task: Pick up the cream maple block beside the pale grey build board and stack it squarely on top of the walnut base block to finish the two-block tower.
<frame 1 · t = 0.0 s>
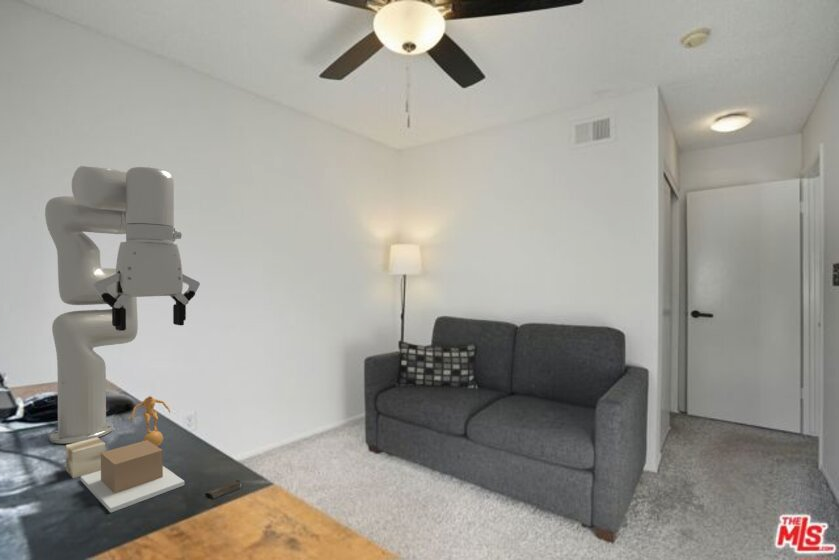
hand: (150, 327, 78), 31 cm above the table, tool pointing down, fingers open, 9 cm apart
block: (225, 494, 79), on the table
build board: (132, 482, 82), on the table
figurine: (151, 447, 99), on the table
maple block: (85, 469, 87), on the table
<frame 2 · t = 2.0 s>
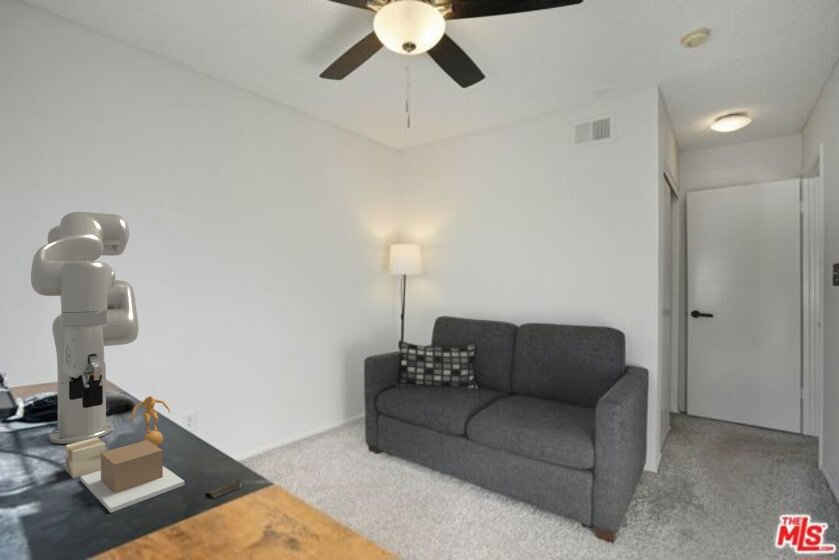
hand: (85, 402, 87), 14 cm above the table, tool pointing down, fingers open, 9 cm apart
nothing on the table moved.
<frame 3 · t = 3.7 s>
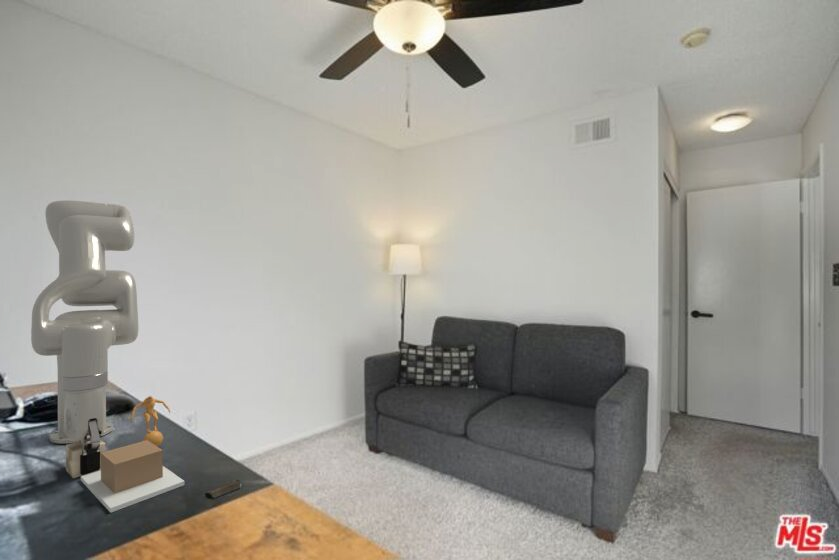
hand: (85, 466, 87), 1 cm above the table, tool pointing down, fingers closed on maple block, 5 cm apart
maple block: (85, 469, 87), on the table, touching gripper
everything else where it was.
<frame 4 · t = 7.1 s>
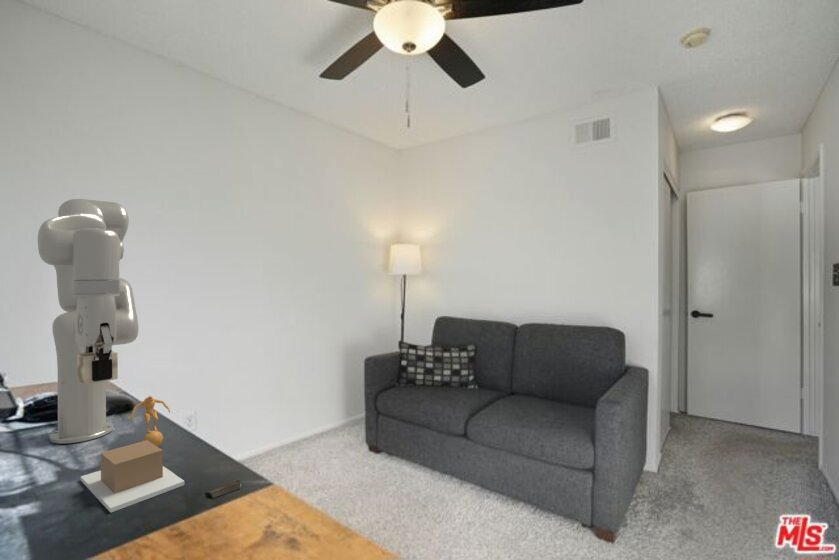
hand: (97, 376, 85), 20 cm above the table, tool pointing down, fingers closed on maple block, 5 cm apart
maple block: (97, 379, 85), point 19 cm above the table, touching gripper
everything else where it was.
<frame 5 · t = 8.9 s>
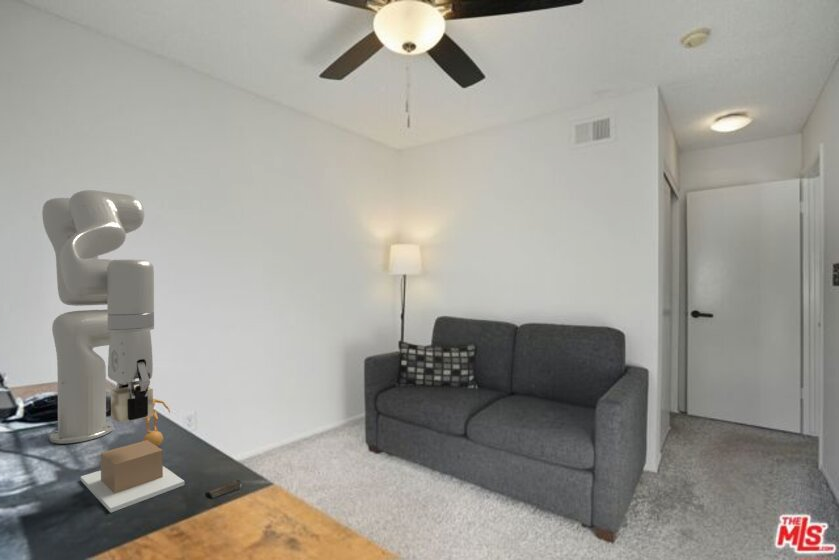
hand: (132, 414, 81), 14 cm above the table, tool pointing down, fingers closed on maple block, 5 cm apart
maple block: (132, 416, 81), point 13 cm above the table, touching gripper
everything else where it was.
when the fingers open (8 cm above the table, at t = 10.3 s): maple block drops 1 cm, resting on build board.
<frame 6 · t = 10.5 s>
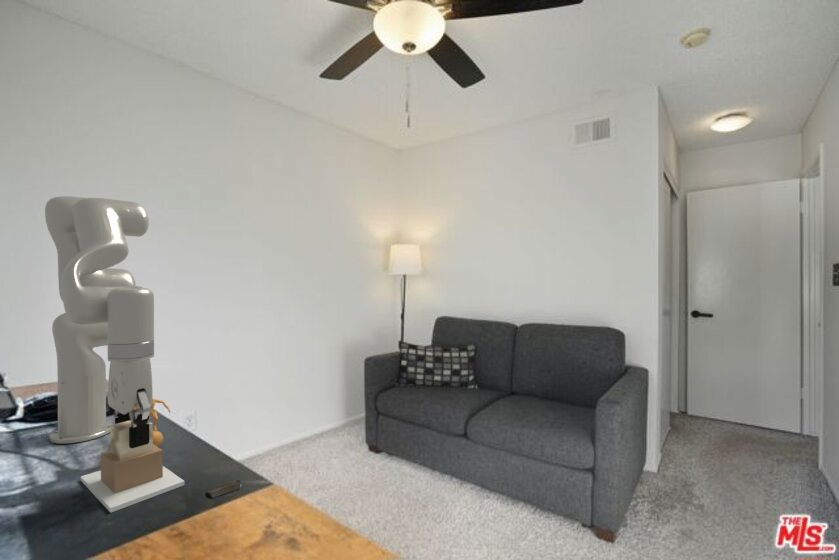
hand: (131, 439, 82), 8 cm above the table, tool pointing down, fingers open, 7 cm apart
maple block: (131, 451, 82), point 6 cm above the table, touching build board
everything else where it was.
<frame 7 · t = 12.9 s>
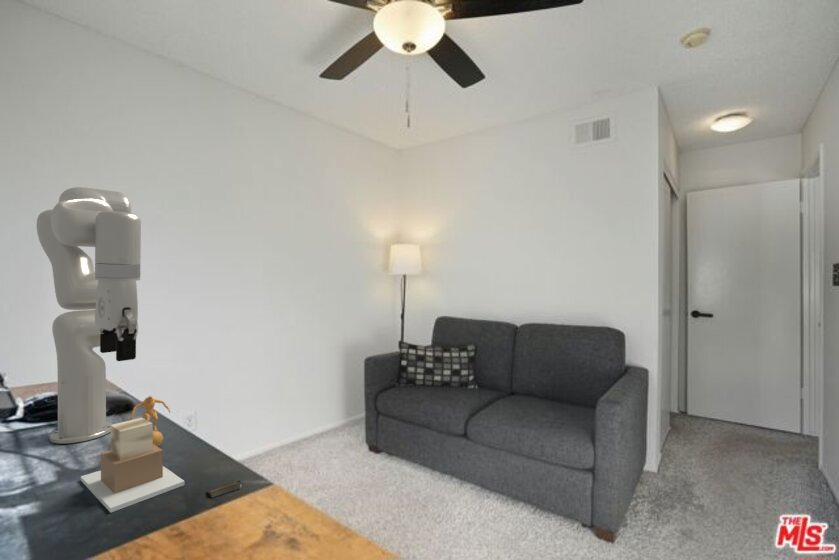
hand: (117, 355, 85), 24 cm above the table, tool pointing down, fingers open, 9 cm apart
nothing on the table moved.
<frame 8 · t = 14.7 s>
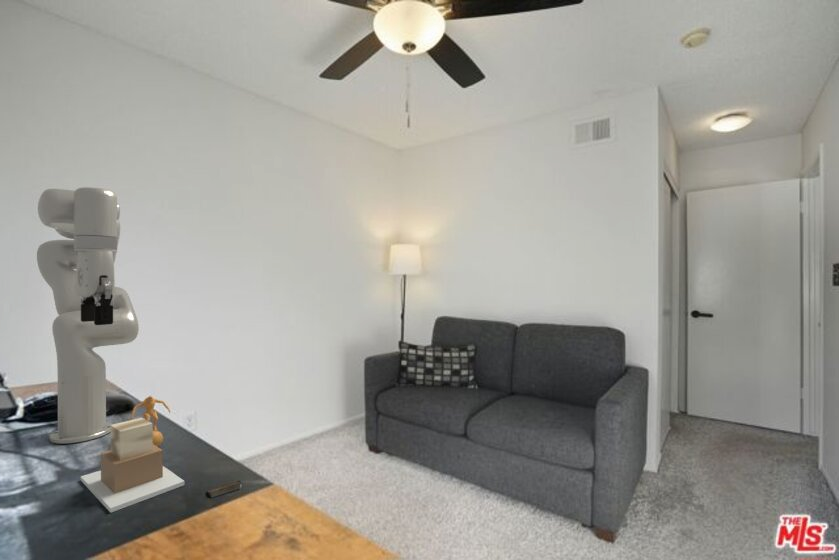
hand: (96, 322, 92), 30 cm above the table, tool pointing down, fingers open, 9 cm apart
nothing on the table moved.
at the end: maple block 0.0 cm off-centre on the build board, point 6.2 cm above the build board's base; maple block tilted 0°; the gripper is holding nothing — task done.
